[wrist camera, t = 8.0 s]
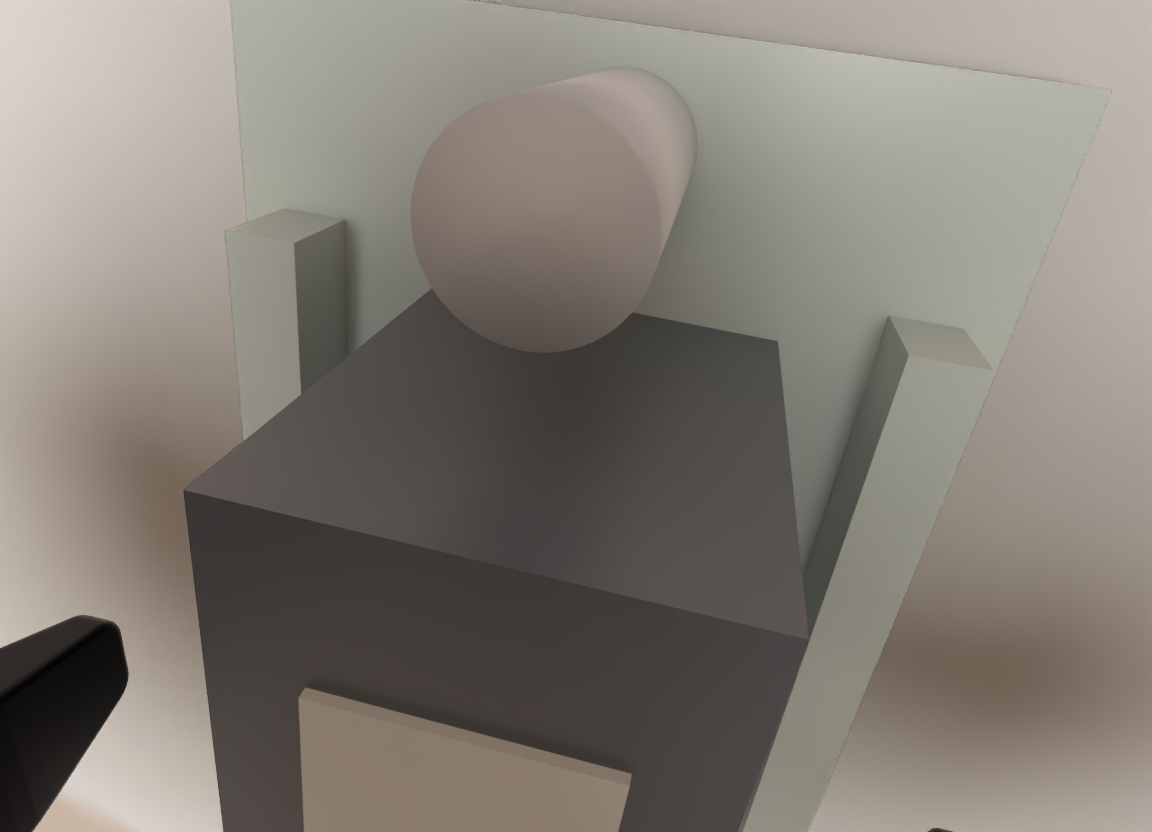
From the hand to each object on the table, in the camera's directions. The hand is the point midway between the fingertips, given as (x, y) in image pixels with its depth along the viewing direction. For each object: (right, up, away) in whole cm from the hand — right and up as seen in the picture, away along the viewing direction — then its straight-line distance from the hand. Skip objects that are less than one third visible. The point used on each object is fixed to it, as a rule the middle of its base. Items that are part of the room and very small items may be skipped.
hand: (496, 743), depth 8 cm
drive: (+1, +1, +3) cm, 3 cm away
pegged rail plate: (+1, +2, +4) cm, 4 cm away
